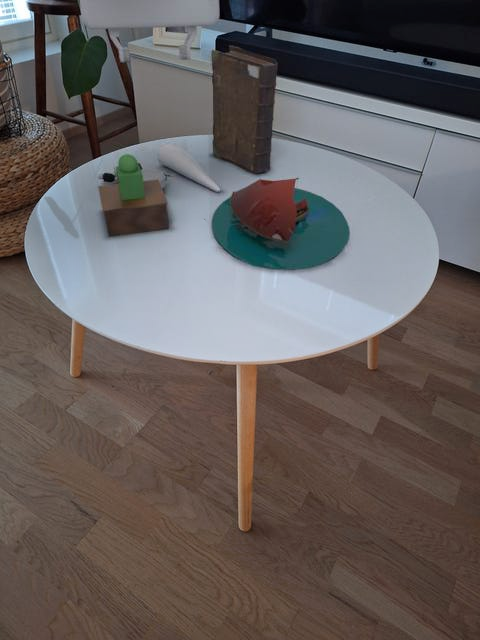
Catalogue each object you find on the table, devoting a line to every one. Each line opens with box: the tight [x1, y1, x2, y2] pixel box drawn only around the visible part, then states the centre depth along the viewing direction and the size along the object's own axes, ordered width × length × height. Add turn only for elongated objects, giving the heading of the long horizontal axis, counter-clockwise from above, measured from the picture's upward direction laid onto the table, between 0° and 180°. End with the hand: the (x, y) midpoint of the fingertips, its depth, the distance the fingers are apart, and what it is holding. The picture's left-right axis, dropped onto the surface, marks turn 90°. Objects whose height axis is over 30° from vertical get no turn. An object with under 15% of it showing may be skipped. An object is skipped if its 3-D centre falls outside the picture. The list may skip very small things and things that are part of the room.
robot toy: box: [97, 162, 175, 190], centre depth 105 cm, size 12×4×15 cm
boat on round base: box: [211, 177, 351, 271], centre depth 92 cm, size 28×28×11 cm
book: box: [210, 45, 279, 174], centre depth 111 cm, size 17×7×25 cm, turn 39°
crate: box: [97, 180, 169, 237], centre depth 94 cm, size 12×10×6 cm
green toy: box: [115, 153, 145, 200], centre depth 90 cm, size 4×4×8 cm
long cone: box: [156, 142, 221, 193], centre depth 110 cm, size 6×6×19 cm
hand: (155, 60), depth 73 cm, fingers open, 8 cm apart
